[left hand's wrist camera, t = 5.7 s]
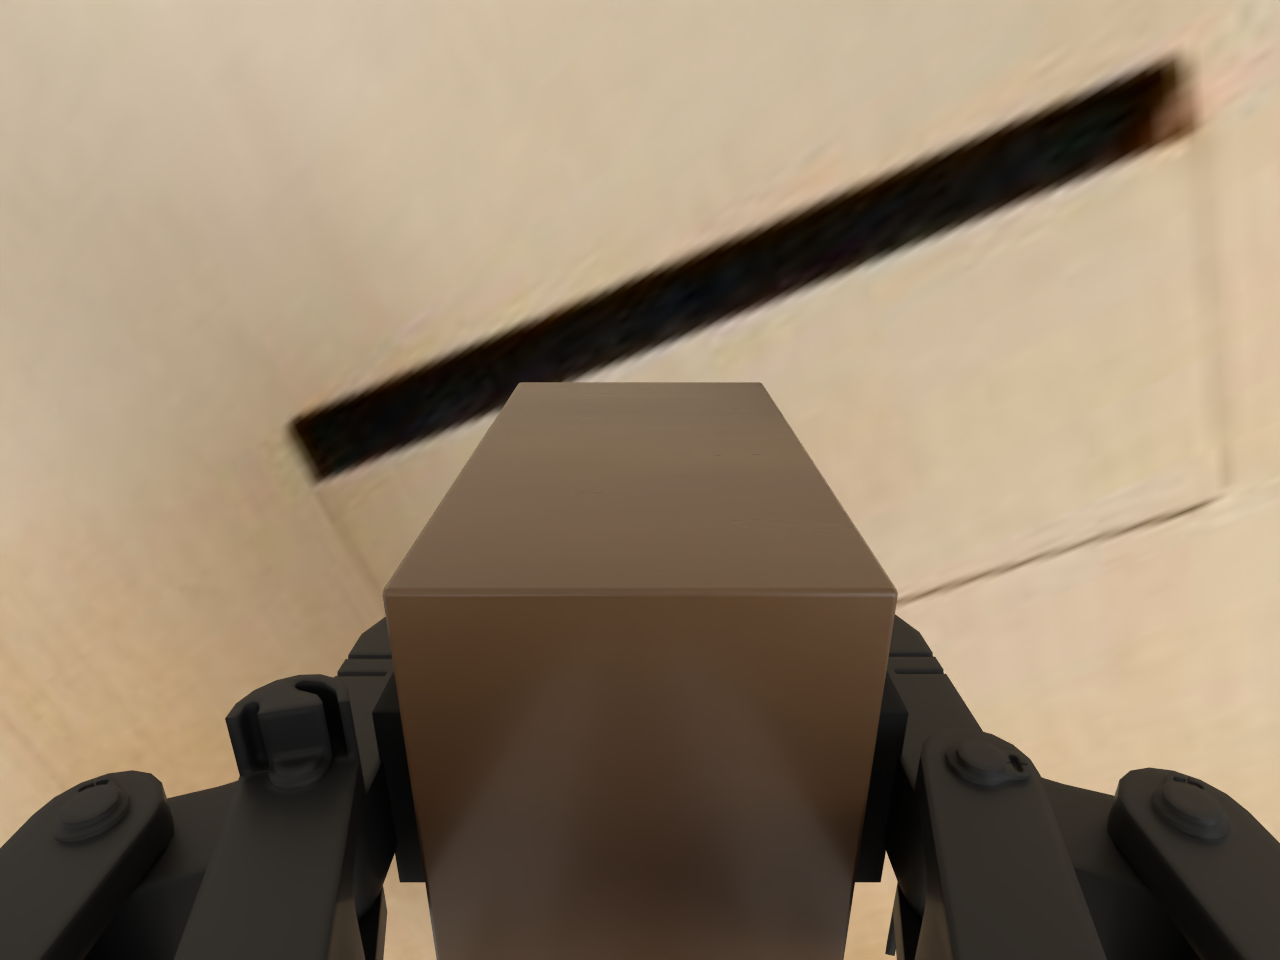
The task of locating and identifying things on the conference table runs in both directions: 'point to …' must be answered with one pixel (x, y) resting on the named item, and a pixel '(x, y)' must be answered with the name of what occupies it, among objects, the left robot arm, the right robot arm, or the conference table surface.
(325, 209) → the conference table surface
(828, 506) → the bar
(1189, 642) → the conference table surface
